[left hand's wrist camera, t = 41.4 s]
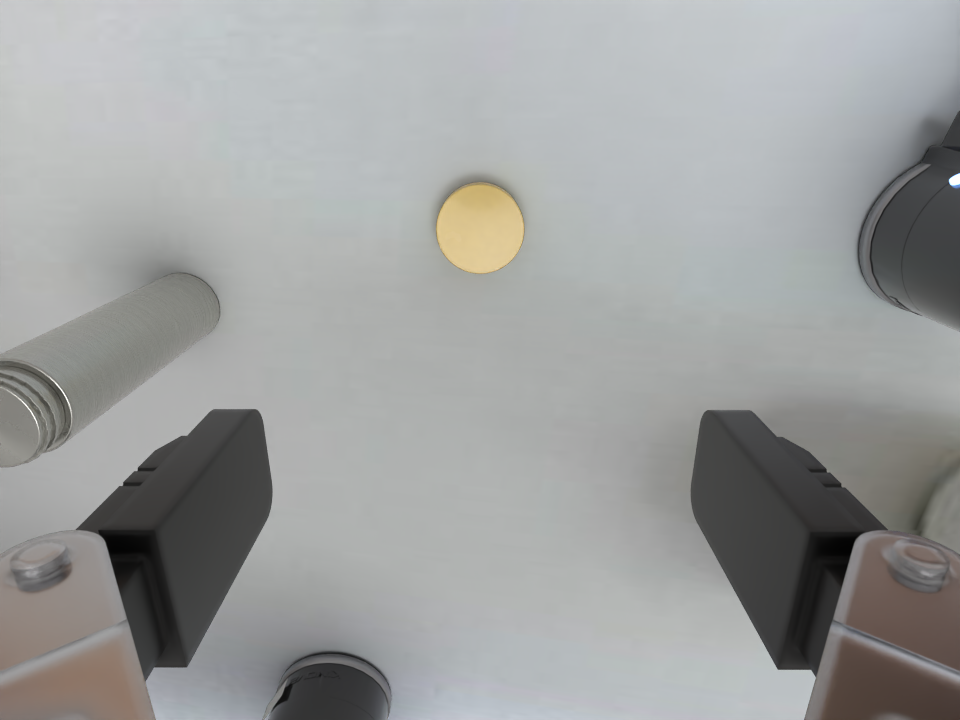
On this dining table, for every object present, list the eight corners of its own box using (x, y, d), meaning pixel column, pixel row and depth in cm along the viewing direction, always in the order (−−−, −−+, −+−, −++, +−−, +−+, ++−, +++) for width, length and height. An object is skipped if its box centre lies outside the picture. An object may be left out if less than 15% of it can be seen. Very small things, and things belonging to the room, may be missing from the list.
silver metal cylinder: (233, 319, 39) (71, 446, 23) (179, 349, 40) (-12, 490, 24) (192, 260, 37) (-9, 354, 22) (137, 292, 38) (-95, 403, 23)
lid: (435, 183, 36) (433, 186, 34) (522, 180, 36) (524, 183, 34) (440, 268, 38) (438, 275, 36) (522, 266, 38) (524, 272, 36)
